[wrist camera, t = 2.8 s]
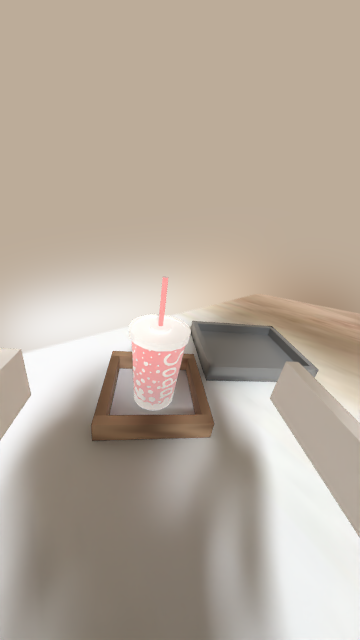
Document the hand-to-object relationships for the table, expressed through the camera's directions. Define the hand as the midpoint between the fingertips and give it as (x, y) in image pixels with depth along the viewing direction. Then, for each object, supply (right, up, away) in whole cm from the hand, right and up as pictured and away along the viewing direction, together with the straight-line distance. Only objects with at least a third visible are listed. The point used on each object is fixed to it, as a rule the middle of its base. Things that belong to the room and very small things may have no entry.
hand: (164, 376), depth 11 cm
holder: (-2, -6, +14) cm, 15 cm away
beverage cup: (-2, -6, +14) cm, 15 cm away
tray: (+11, -3, +24) cm, 27 cm away
